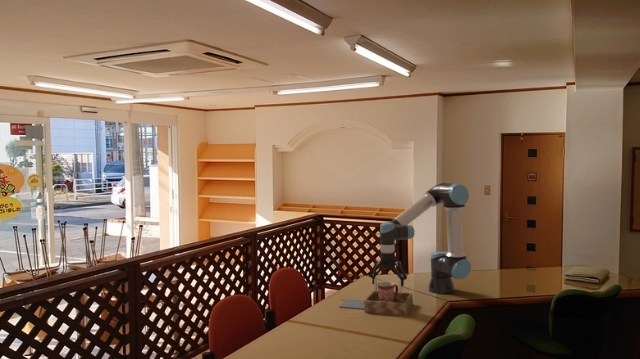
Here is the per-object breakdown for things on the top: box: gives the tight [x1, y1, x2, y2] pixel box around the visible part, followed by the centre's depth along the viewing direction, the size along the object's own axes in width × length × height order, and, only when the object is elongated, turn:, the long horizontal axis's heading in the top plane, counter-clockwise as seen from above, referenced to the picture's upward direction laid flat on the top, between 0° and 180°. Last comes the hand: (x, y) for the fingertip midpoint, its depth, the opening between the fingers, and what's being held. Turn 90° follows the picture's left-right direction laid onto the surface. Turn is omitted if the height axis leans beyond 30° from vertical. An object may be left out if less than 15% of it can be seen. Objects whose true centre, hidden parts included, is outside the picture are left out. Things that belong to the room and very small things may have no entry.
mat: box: [339, 298, 365, 310], centre depth 263 cm, size 14×14×1 cm
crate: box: [363, 290, 414, 317], centre depth 256 cm, size 22×20×6 cm
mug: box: [377, 281, 399, 302], centre depth 255 cm, size 13×9×14 cm
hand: (388, 291), depth 255 cm, fingers open, 13 cm apart
